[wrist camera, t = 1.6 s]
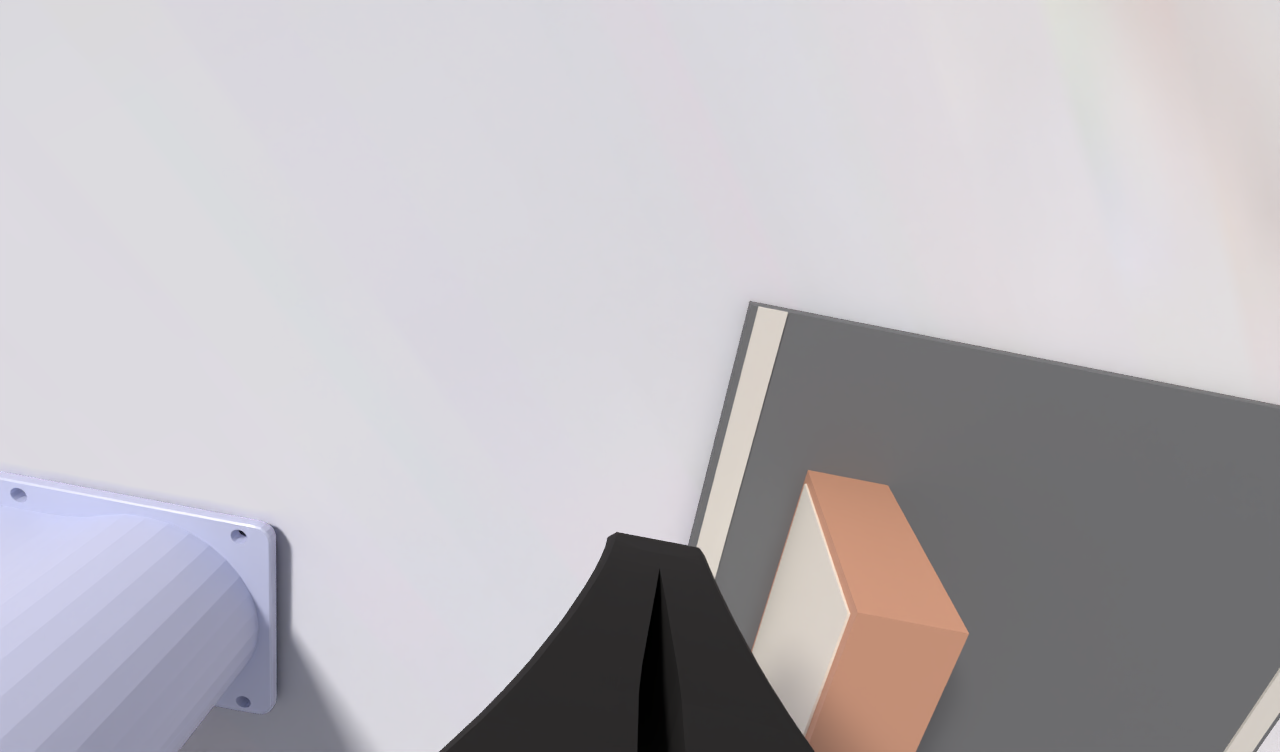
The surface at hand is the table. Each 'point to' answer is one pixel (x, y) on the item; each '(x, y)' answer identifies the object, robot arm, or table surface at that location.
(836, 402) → the mat
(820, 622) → the card box
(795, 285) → the table surface
